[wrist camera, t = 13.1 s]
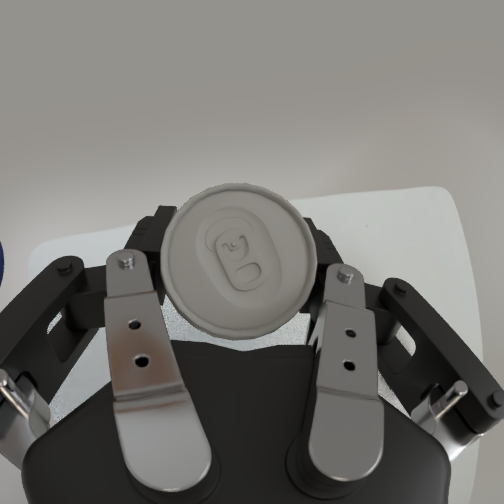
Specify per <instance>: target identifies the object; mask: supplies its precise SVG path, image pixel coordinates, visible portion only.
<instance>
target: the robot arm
mask: <svg viewBox="0 0 504 504" xmlns="http://www.w3.org/2000/svg"><path fill="white" fill-rule="evenodd" d="M176 212H177V207H176V206H159V207H158V209H157V211H156V213H155V215H154V216H146V217H144V218H143V219H141V220H140V221H138V223H137V225H136V227H135V229H134V230H133V232H132V235H131V236H130V238H129V240H128V241H127V243H126V245H125V247H124V249H122V250H118V251H116V252H114V253H112V254H111V255H110V256H109V257H108V258H107V260H106V265H103V266H98V267H91V268H85V267H84V263H83V261H82V259H81V258H79V257H76V256H64V257H61V258H58V259H56V260H54V261H53V262H52V263H50V264H49V265H48V266H47V267H46V268H45V269H44V270H43V271H42V272H41V273H40V274H39V275H37V276H36V277H35V278H34V279H33V280H32V281H31V282H30V283H29V284H28V285H27V286H26V287H25V288H24V289H23V290H22V291H21V292H20V293H19V294H18V295H17V296H16V297H15V298H14V299H13V300H12V301H11V302H10V303H9V304H8V305H7V306H6V307H5V308H4V309H3V311H2V312H1V313H0V453H1V454H2V455H3V456H4V457H5V458H7V459H8V460H9V461H10V462H11V463H12V464H14V465H15V466H16V467H17V468H19V469H20V470H21V477H22V484H23V488H24V491H25V494H26V497H27V500H28V503H29V504H448V494H449V485H450V479H451V464H450V462H451V461H452V460H454V459H455V458H456V457H457V456H458V455H459V454H460V453H461V452H462V451H463V450H464V449H465V448H466V447H468V446H469V445H471V444H472V443H473V442H475V441H476V440H478V439H479V438H480V437H482V436H483V435H484V434H485V433H486V432H488V431H489V430H490V429H492V428H493V427H494V426H495V425H497V424H498V423H499V422H500V421H501V420H503V419H504V391H503V389H502V388H501V387H500V385H499V384H498V383H497V381H496V380H495V379H494V378H493V376H492V375H491V374H490V373H489V371H488V370H487V369H486V368H485V366H484V365H483V364H482V363H481V361H480V360H479V359H478V358H477V357H476V355H475V354H474V353H473V352H472V351H471V349H470V348H469V347H468V346H467V345H466V344H465V343H464V341H463V340H462V339H461V338H460V337H459V336H458V335H457V333H456V332H455V331H454V330H453V329H452V328H451V327H450V326H449V324H448V323H447V322H446V321H445V320H444V319H443V318H442V317H441V316H440V315H439V314H438V313H437V311H436V310H435V309H434V308H433V307H432V306H431V305H430V304H429V303H428V302H427V301H426V300H425V299H424V298H423V297H422V296H421V295H420V294H419V293H418V292H417V291H416V290H415V289H414V288H413V287H412V286H411V285H410V284H409V283H407V282H406V281H404V280H401V279H398V278H388V279H386V280H385V282H384V284H383V286H382V287H378V286H374V285H370V284H367V283H364V278H363V276H362V274H361V273H360V272H359V271H358V270H357V269H355V268H354V267H352V266H349V265H346V264H344V263H343V261H342V259H341V257H340V255H339V254H338V252H337V250H336V248H335V246H334V245H333V243H332V241H331V239H330V238H329V236H328V235H326V234H325V233H324V232H323V231H321V230H317V229H316V227H315V225H314V223H313V222H312V220H311V218H305V217H303V219H304V220H305V222H306V223H307V224H308V226H309V229H310V232H311V234H312V237H313V239H314V242H315V247H316V256H317V269H316V276H315V283H314V285H313V287H312V290H311V292H310V294H309V297H308V299H307V301H306V302H305V304H304V305H303V306H302V307H301V309H300V310H299V313H310V316H311V317H310V320H309V322H308V326H307V331H306V336H305V341H304V345H276V346H271V347H266V348H261V349H255V350H250V351H238V350H234V349H230V348H226V347H222V346H218V345H214V344H210V343H206V342H193V341H180V340H171V342H170V338H169V335H168V331H167V328H166V324H165V321H164V317H163V314H162V310H161V306H160V305H162V306H163V303H164V299H165V294H166V291H165V288H164V285H163V281H162V278H161V269H160V253H161V246H162V242H163V239H164V235H165V231H166V229H167V227H168V225H169V223H170V222H171V220H172V218H173V217H174V215H175V213H176ZM59 312H60V313H61V315H62V318H61V319H60V320H59V321H58V322H57V324H56V325H55V326H54V327H53V329H52V330H51V331H50V332H49V334H48V335H47V329H48V326H49V324H50V323H51V321H52V320H53V319H54V318H55V317H56V315H57V314H58V313H59ZM401 325H402V326H403V327H404V329H405V330H406V331H407V332H408V333H409V335H410V336H411V337H412V338H413V340H414V341H415V345H416V350H415V353H414V354H413V356H411V355H410V354H409V353H408V351H407V350H406V349H405V347H404V346H403V345H402V344H401V342H400V341H399V340H398V339H397V337H396V336H395V335H396V333H397V332H398V330H399V328H400V327H401ZM101 327H105V328H106V340H107V350H108V359H109V368H110V375H111V381H110V382H109V383H107V384H106V385H105V386H104V387H102V388H101V389H100V390H99V391H97V392H96V393H95V394H94V395H92V396H91V397H90V398H88V399H87V400H86V401H85V402H83V403H82V404H81V405H80V406H78V407H77V408H76V409H74V410H73V411H72V412H71V413H69V414H68V415H67V416H66V417H64V418H63V419H62V420H60V421H59V422H58V423H57V424H55V425H54V426H53V427H51V428H50V424H49V421H50V408H49V404H50V402H51V401H52V399H53V397H54V396H55V394H56V393H57V391H58V389H59V388H60V386H61V385H62V383H63V382H64V380H65V379H66V377H67V375H68V374H69V372H70V371H71V369H72V368H73V366H74V365H75V363H76V362H77V360H78V359H79V357H80V356H81V354H82V353H83V352H84V350H85V349H86V347H87V346H88V344H89V343H90V341H91V340H92V339H93V337H94V336H95V334H96V333H97V331H98V330H99V328H101ZM378 370H379V372H380V373H381V375H382V376H383V377H384V379H385V380H386V382H387V383H388V385H389V386H390V388H391V389H392V391H393V392H394V394H395V395H396V396H397V398H398V399H399V401H400V402H401V404H402V405H403V407H404V408H405V410H406V411H407V413H408V414H409V416H410V417H411V419H410V418H408V417H407V416H406V415H404V414H403V413H402V412H401V411H399V410H398V409H397V408H395V407H394V406H393V405H391V404H390V403H389V402H388V401H386V400H385V399H384V398H382V397H381V396H380V395H379V394H378Z"/></svg>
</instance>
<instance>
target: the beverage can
mask: <svg viewBox="0 0 504 504" xmlns="http://www.w3.org/2000/svg"><path fill="white" fill-rule="evenodd" d="M160 269H161V278H162V281H163V285H164V288H165V291H166V295H167V296H168V298H169V299H170V301H171V303H172V304H173V306H174V307H175V309H176V310H177V312H178V313H179V314H180V315H181V316H182V317H183V318H184V319H185V320H186V321H188V322H189V323H190V324H191V325H192V326H193V327H195V328H197V329H199V330H201V331H203V332H205V333H207V334H209V335H211V336H213V337H218V338H223V339H228V340H233V341H234V340H247V339H255V338H258V337H261V336H264V335H267V334H269V333H272V332H274V331H276V330H277V329H278V328H280V327H281V326H283V325H284V324H285V323H287V322H288V321H289V320H291V319H292V318H293V317H294V316H295V315H296V314H297V312H298V311H299V310H300V309H301V307H302V306H303V305H304V304H305V302H306V301H307V299H308V297H309V294H310V292H311V290H312V287H313V285H314V283H315V276H316V269H317V256H316V247H315V242H314V239H313V237H312V234H311V232H310V229H309V226H308V224H307V223H306V222H305V220H304V219H303V217H302V216H301V215H300V213H299V212H298V210H297V209H296V208H295V207H294V206H292V205H291V204H290V203H289V202H288V201H287V200H285V199H284V198H283V197H282V196H280V195H278V194H276V193H274V192H272V191H270V190H268V189H266V188H264V187H259V186H255V185H251V184H247V183H229V184H223V185H219V186H215V187H212V188H208V189H206V190H204V191H202V192H200V193H199V194H197V195H195V196H193V197H192V198H190V199H189V200H188V201H187V202H186V203H185V204H184V205H183V206H182V207H181V208H180V209H179V210H178V211H177V212H176V213H175V215H174V217H173V218H172V220H171V222H170V223H169V225H168V227H167V229H166V231H165V235H164V239H163V242H162V246H161V253H160Z"/></svg>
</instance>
